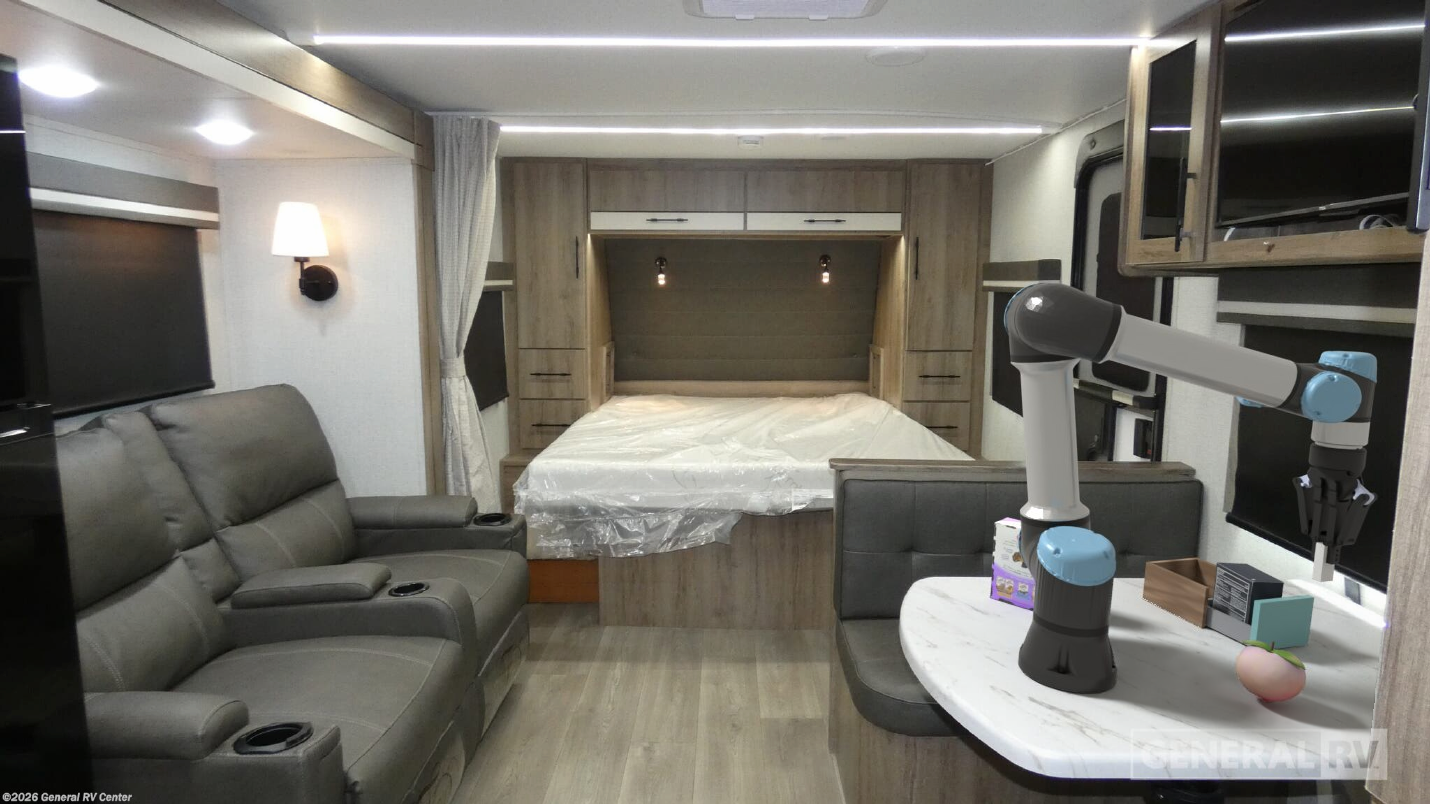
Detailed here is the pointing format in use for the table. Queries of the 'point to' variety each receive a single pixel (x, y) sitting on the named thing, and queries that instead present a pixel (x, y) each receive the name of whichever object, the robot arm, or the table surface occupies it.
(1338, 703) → the table surface
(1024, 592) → the candy box
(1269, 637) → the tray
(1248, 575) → the small box
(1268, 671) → the decorative fruit
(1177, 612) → the cubby
